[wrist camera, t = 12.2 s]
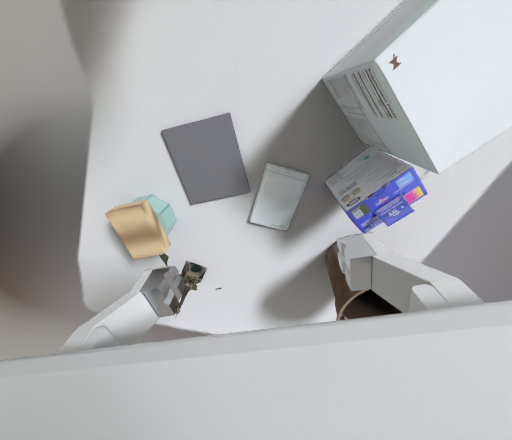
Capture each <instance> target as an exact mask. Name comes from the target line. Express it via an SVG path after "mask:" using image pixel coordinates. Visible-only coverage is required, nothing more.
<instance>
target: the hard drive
mask: <svg viewBox="0 0 512 440" xmlns="http://www.w3.org/2000/svg"><path fill="white" fill-rule="evenodd" d="M309 176H310V175H309V174H306V173H303V172H299V171H296V170H292V169H289V168H286V167H282V166H279V165H275V164H272V163H268V162H267V163H266V167H265V170H264V173H263V176H262V180H261V183H260V186H259V190H258V193H257V196H256V199H255V203H254V206H253V209H252V213H251V216H250V219H249V221H250V222H252V223H256V224H260V225H264V226H268V227H272V228H276V229H280V230H284V231H287V229H288V227H289V224H290V222H291V220H292V217H293V215H294V212H295V210H296V208H297V205H298V203H299V200H300V198H301V196H302V193H303V191H304V188H305V186H306V184H307V181H308V178H309Z"/></svg>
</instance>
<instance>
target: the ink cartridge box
mask: <svg viewBox="0 0 512 440" xmlns="http://www.w3.org/2000/svg"><path fill="white" fill-rule="evenodd" d="M325 184H326V185H327V186H328V188H329V189H330V191H331V192H332V194H333V196H334V197H335V199H336V200H337V202H338V203H339V204H340V206H341V207H342V209H343V210H344V211H345V213H346V214H347V215H348V217H349V218H350V219H351V220H352V222H353V223H354V224H355V225H356V226H357V227H358V228H359V229H360V230H361V231H362V232H363V233H367V232H368V231H370V230H371V229H373V228H374V227H376V226H377V225H379V224H381V223H382V222H384V223H385V224H386V225H387V226H390V225H392V224H393V223H395V222H397V221H398V220H400V219H402V218H403V217H405V216H407V215H408V214H410V213H412V212H413V211H414V210H413V209H412V208H411V207H410V204H412V203H414V202H415V201H417V200H418V199H420V198H421V197H423V196H425V195H426V194H428V193H427V191H426V189H425V188H424V186H423V184H422V182H421V180H420V179H419V177H418V175H417V173H416V171H415V170H414V168H413V166H411V165H409V164H407V163H405V162H403V161H401V160H398V159H396V158H394V157H392V156H390V155H388V154H386V153H384V152H382V151H380V150H378V149H376V148H374V147H372V146H370V147H368V148H367V149H366V150H364V151H363V152H362V153H361V154H359V155H358V156H357V157H355V158H354V159H353V160H352V161H350V162H349V163H348V164H346V165H345V166H344V167H342V168H341V169H340V170H339V171H337V172H336V173H335V174H333V175H332V176H331V177H330V178H328V179H327V180H326V181H325ZM402 209H403V210H402ZM401 210H402V211H401ZM399 211H401V212H400V213H399V214H398V215H395V214H396V213H398V212H399ZM393 215H395V216H393ZM392 216H393V217H392Z"/></svg>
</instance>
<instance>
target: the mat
mask: <svg viewBox="0 0 512 440" xmlns="http://www.w3.org/2000/svg"><path fill="white" fill-rule="evenodd" d="M162 134H163V136H164V139H165V141H166V143H167V146H168V148H169V151H170V153H171V156H172V158H173V161H174V163H175V165H176V168H177V170H178V173H179V175H180V178H181V180H182V182H183V185H184V187H185V190H186V192H187V195H188V197H189V199H190V202H191V204H195V203H200V202H205V201H210V200H215V199H220V198H224V197H229V196H234V195H239V194H244V193H249V192H250V189H249V185H248V181H247V177H246V173H245V169H244V165H243V162H242V158H241V154H240V150H239V146H238V142H237V139H236V135H235V131H234V127H233V123H232V119H231V116H230V113H227V114H223V115H219V116H215V117H211V118H208V119H204V120H200V121H196V122H192V123H188V124H185V125H181V126H177V127H173V128H169V129H165V130H162Z"/></svg>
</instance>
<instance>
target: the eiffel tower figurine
mask: <svg viewBox="0 0 512 440" xmlns="http://www.w3.org/2000/svg"><path fill="white" fill-rule="evenodd" d="M159 256H160V257H161V259H162V260H163V261H164V263H165V264H166V266H167V260H168V258H169V257H168V256H167V255H165V254H160V255H159ZM167 267H168V266H167ZM206 270H207V268H205V267H203V266H200V265H197V264H194V263H192V262H189V261H186V263H185V265H184V268H183V270H182V273H181V275H180V274H178V276H180V277H181V278H182V279H183V281H184V285H185V289H184V294H183V296H182V298H181V301H180V304H179V307H178V309H177V311H176V316H177V314H178V313H179V312H180V308H181V306H182V304H183V301H184V299H185V297H186V295H187V293H188V292H189V291H190V290H192V289H193V290H197V285H196V284H197V283H199V282H201V280H202V278H203V276H204V274H205V272H206ZM189 278H190V279H193V280H190V279H189ZM217 289H222V288H217ZM217 289H216V290H217ZM175 318H176V317H175Z"/></svg>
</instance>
